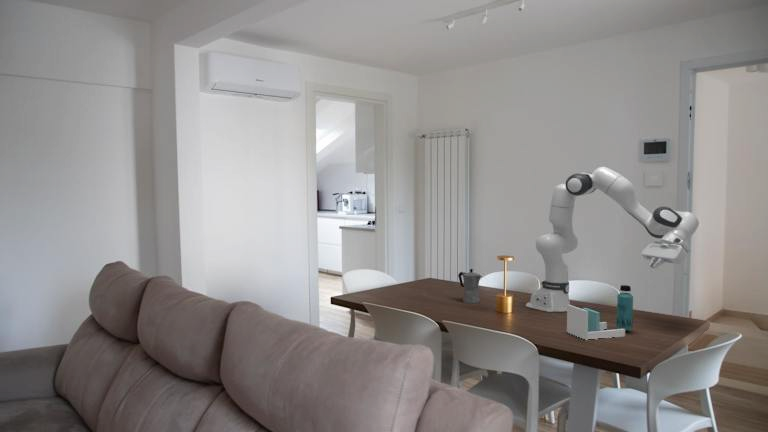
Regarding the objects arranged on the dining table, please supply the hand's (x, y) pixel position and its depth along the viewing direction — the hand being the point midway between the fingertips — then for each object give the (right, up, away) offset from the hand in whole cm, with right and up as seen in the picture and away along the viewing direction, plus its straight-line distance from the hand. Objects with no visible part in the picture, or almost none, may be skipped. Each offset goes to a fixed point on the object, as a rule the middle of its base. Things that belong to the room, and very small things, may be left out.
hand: (652, 267), depth 228 cm
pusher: (-29, -27, -6) cm, 40 cm away
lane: (-26, -28, -5) cm, 38 cm away
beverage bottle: (-13, -28, -1) cm, 31 cm away
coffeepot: (-69, -25, +61) cm, 96 cm away
